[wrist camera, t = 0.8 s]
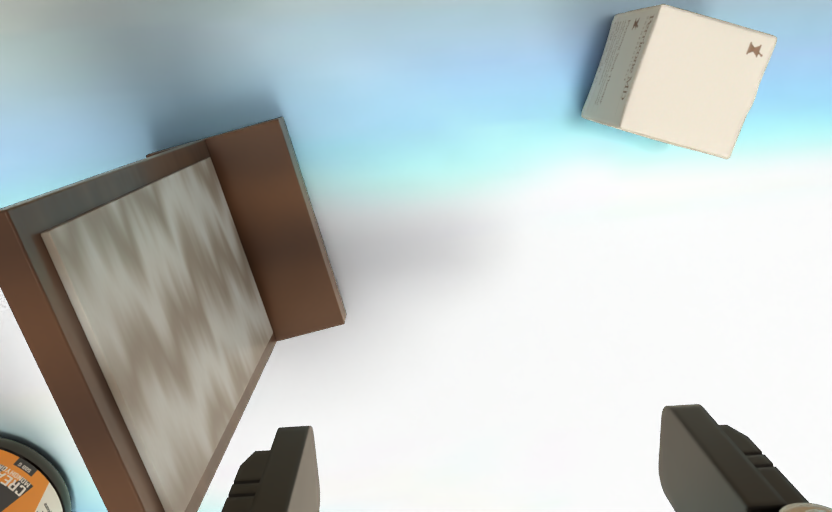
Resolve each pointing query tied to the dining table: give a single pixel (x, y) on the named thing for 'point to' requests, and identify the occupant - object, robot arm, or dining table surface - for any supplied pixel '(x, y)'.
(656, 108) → the product box
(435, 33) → the dining table surface
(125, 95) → the dining table surface
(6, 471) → the supplement container
